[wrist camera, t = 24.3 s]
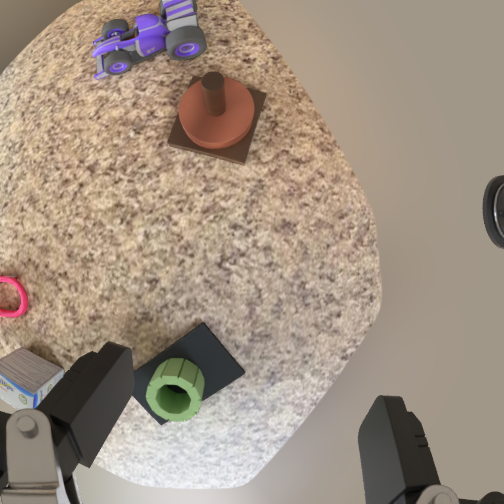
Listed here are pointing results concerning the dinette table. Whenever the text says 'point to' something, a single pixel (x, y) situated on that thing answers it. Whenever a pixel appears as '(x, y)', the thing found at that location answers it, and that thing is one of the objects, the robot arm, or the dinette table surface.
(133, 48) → the toy race car
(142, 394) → the mat
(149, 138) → the dinette table surface
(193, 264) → the dinette table surface
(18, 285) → the fitness band
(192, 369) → the green ring
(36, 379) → the medicine box
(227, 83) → the stand
